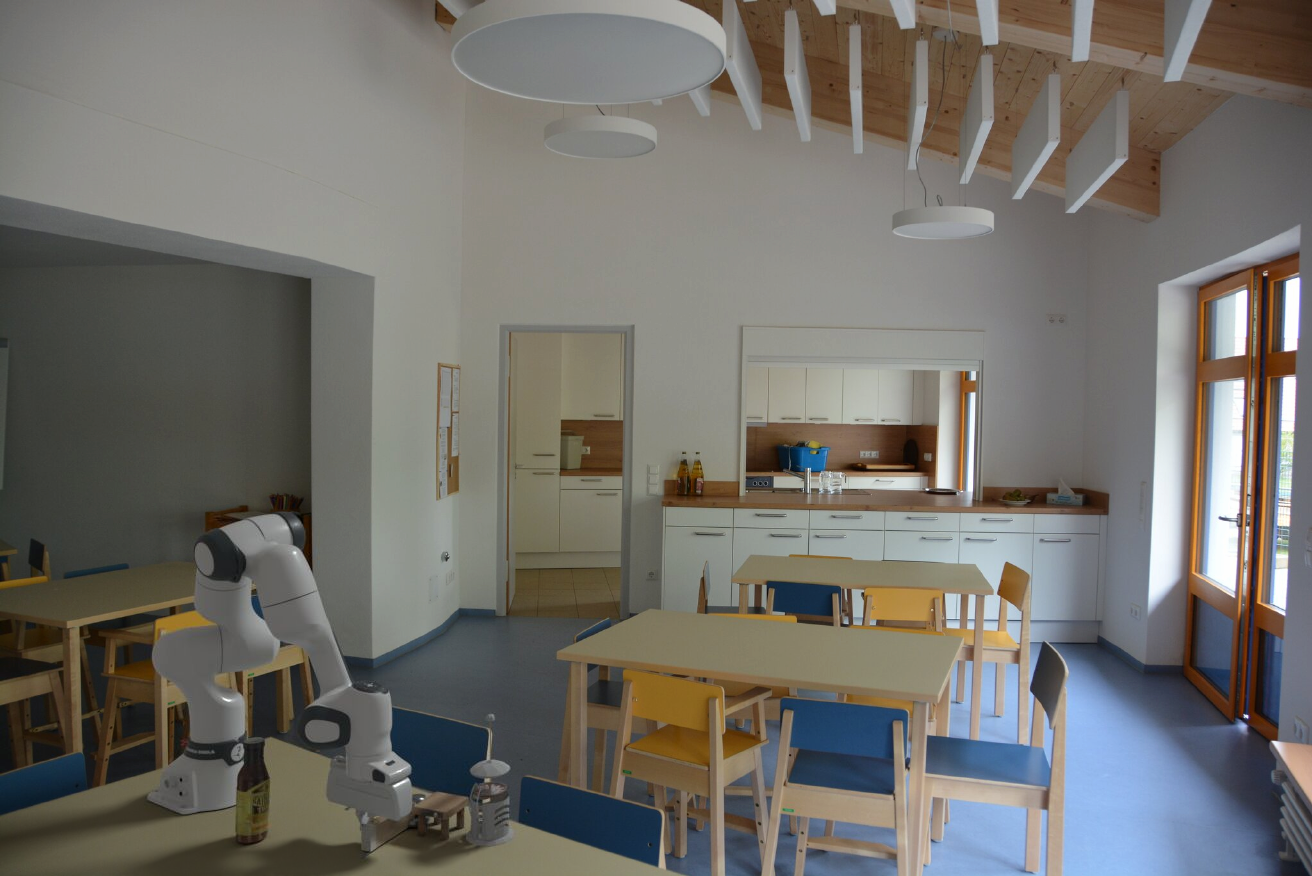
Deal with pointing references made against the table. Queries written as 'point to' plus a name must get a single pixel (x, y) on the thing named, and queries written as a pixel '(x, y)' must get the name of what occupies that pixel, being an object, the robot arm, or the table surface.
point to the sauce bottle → (252, 794)
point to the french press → (489, 803)
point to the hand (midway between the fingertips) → (367, 831)
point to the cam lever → (388, 827)
